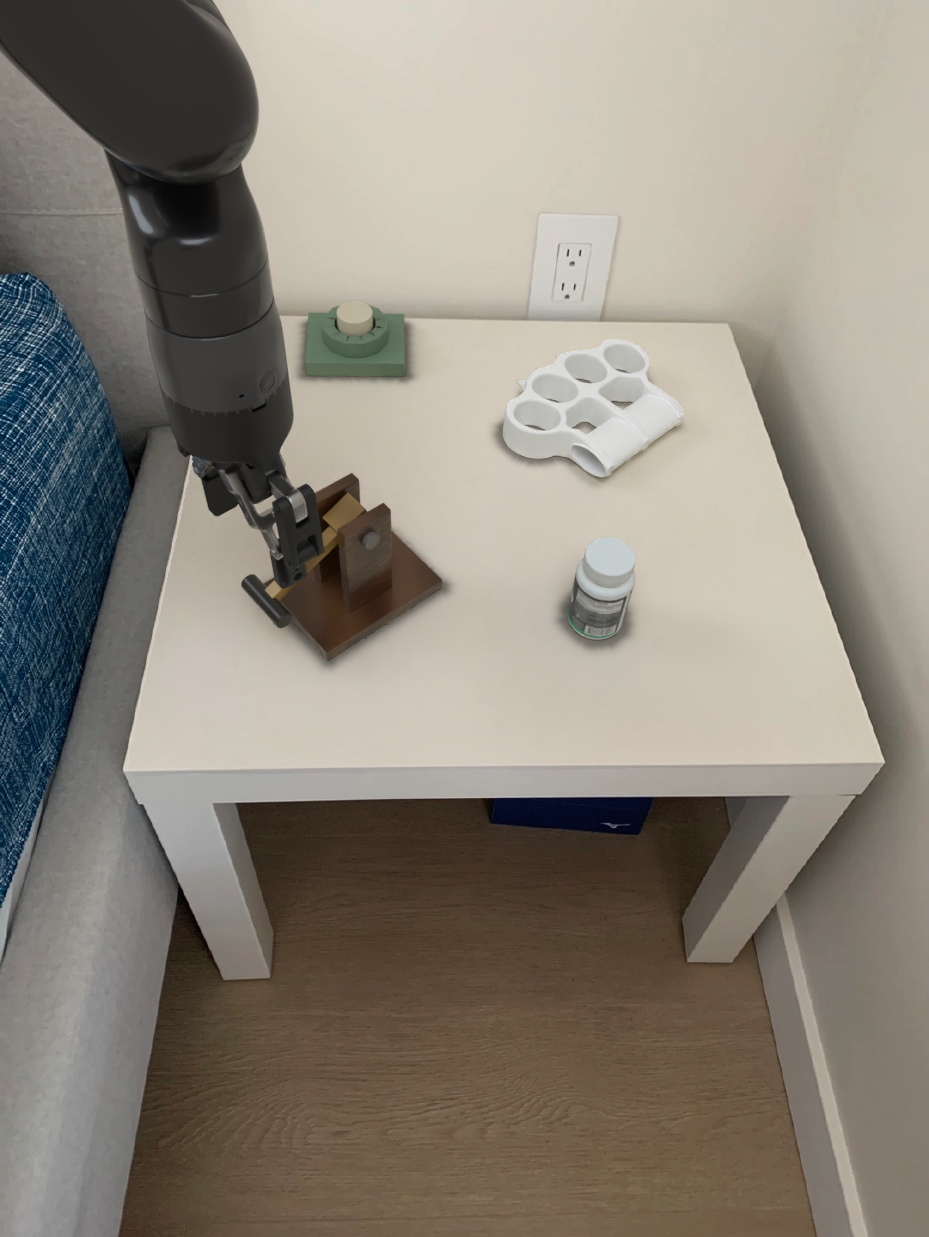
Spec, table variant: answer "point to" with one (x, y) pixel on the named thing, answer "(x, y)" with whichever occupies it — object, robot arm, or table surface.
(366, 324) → the button
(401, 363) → the button block
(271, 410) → the robot arm
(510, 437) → the knuckle duster
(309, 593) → the switch bracket
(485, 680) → the table surface
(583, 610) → the pill bottle
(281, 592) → the switch lever
